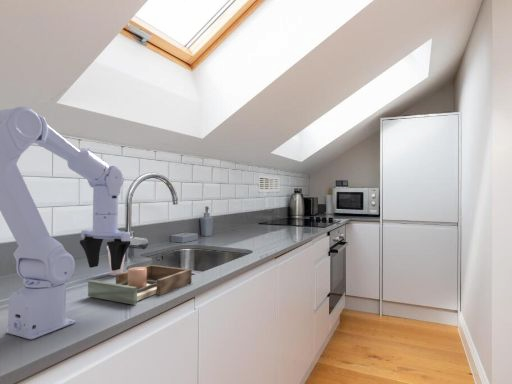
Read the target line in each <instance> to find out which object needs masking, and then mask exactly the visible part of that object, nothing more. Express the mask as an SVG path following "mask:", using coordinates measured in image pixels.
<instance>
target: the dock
mask: <svg viewBox="0 0 512 384" xmlns="http://www.w3.org/2000/svg"><path fill="white" fill-rule="evenodd" d="M144 267H146V268H147V280H151V279H155V280H156V281H157V293H156V296H161V295H165V294H166V293H170V292H172V291H174V290H177V289H179V288H182V287H184V286H186V285H188V284H190V283H191V284H192V275H193V274H192V273H193V271H192V269H190V268H183V267H174V266H173V267H172V266H166V265H157V264H149V265H145V266H144ZM126 281H128V270H127V271H124V272H123V273H119V274H116V275H115V284H120V283H123V282H126ZM176 288H177V289H176ZM171 290H172V291H171Z"/></svg>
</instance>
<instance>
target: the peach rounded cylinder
mask: <svg viewBox="0 0 512 384" xmlns="http://www.w3.org/2000/svg"><path fill="white" fill-rule="evenodd" d="M127 271H128V286H134V287H137V289H140V288H143V287H146V286H147V280H148V279H147V268H146V267H145V266H135V267H129V268H127Z"/></svg>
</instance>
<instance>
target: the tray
mask: <svg viewBox="0 0 512 384" xmlns="http://www.w3.org/2000/svg"><path fill="white" fill-rule="evenodd" d="M153 295H157V280H152V279H147V286H146V287H143V288H140V289H137V287H134V286H128V281H126V282H123V283H120V284H116V283H114V282H106V281H100V280H95V279H91V280H88V281H87V296H88V297H89V298H96V299H101V300H106V301H112V302H118V303H122V304H128V305H132V306H133V305H136V304H138V302H139V301H140V300H141V301H142V300H144V299H146V298H148V297H151V296H153Z"/></svg>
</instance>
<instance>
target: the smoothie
mask: <svg viewBox="0 0 512 384" xmlns="http://www.w3.org/2000/svg"><path fill="white" fill-rule="evenodd" d="M106 250H107V255H108V256H107V257H108V263H109V264H108V265H109V273H110V276H116V274H119V273H123V271H124V264H125V258H126V257H125V256H126V254H125V255H124V257H123V260H122V264H121V268H120V269H119V270H115V271H113V270H112V268H111V256H110V251H109V247H108V245H107V246H106Z"/></svg>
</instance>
